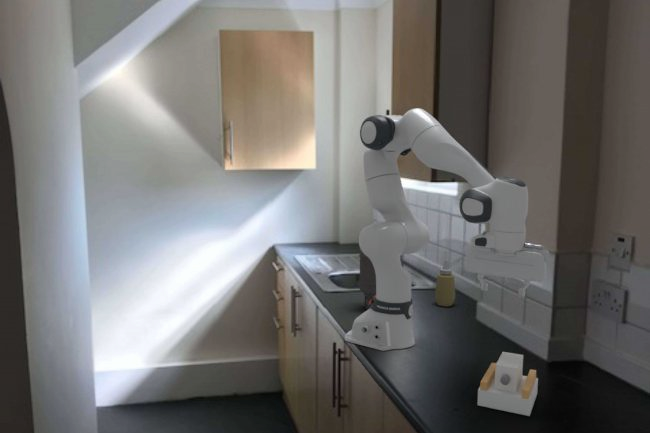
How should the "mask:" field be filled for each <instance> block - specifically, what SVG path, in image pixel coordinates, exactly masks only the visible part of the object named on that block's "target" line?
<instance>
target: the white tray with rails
mask: <svg viewBox="0 0 650 433" xmlns="http://www.w3.org/2000/svg"><path fill="white" fill-rule="evenodd" d="M496 363H497V362H491V363H490V365H489V366H488V369H487V370H486V372H485V373H484V375H483V377H482V378H481V380H480V385H479V387H478V389H477V406H480V407H485V408H489V409H492V410H493V409H494V410H498V411H504V412H508V413H511V414H512V413H514V414H516V415H517V414H518V415H522V416H527V417H531V414H532V410H533V407H534V405H535V401H536V399H537V395H538V386H539V384H538V383H539V378H538V377H537V370H536V369H531V368H530V369H529V371H528V374H527V375H523V374H522V379H521V382H520V384H519V387H518V389H517V392H516V393H515V392H510V391H505V390H499V389H495V369H496Z"/></svg>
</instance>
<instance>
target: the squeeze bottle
mask: <svg viewBox="0 0 650 433" xmlns="http://www.w3.org/2000/svg"><path fill="white" fill-rule="evenodd" d="M434 289H435V291H434V298H435V301H436V305H437V306H440V307H452V306H453V305H454V304H453V303H454V301H455V299H456V286H455V275H453V269H451V268H450V265H449V260H448V259H445V260H444V262H443V266H442V268H440V269H439V273H438V274H437V276H436V282H435V288H434Z"/></svg>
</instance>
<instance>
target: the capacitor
mask: <svg viewBox="0 0 650 433" xmlns="http://www.w3.org/2000/svg"><path fill="white" fill-rule="evenodd" d="M358 257H359V279H358V283H359V286H358V288H359V290H360V291H361V293H363V295H364V307H363V308H364V309H365V310H366V311H367V310H368V309H370V308H371V304H370V305H369V303H370V302H369V301H370V300H371V299H372V298H373V297H374V296H375V295H376V274H375V269H374V266H373V264H372V262H371V260H370V259H369V258H368V257H367V256H366V255H365V254H364V253H363V252H362V250H361V249H360V250H359V256H358Z"/></svg>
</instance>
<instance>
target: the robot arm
mask: <svg viewBox="0 0 650 433" xmlns="http://www.w3.org/2000/svg"><path fill="white" fill-rule="evenodd" d="M359 137H360V140H361V143H362V144H363V146H364V147H366V148H367V149H365V151H364V152H363V174H364V180H365V185H366V186H365V187H366V190H367V196H368V201H369V204H370V206H371V207H372V209H373V210H375V211H376V212H378V213H379V214H380V215H381V216H382V217H383V220H384V221H379V222H375V223H371V224H369V225H366V226H364V227H363V228H362V229H361V231H360V232H359V235H358V236H359V237H358V245H359V249H360V250H362V252H363V253H364V254H365V255H366V256H367V257H368V258H369V259H370V260H371V262H372V264H373V266H374V269H375V274H376V295H375V296H374V297H373V298H372V299H371V300H370V301H369V302H370V303H369V305H370V304H371V308H370V309H368V310H367V309H366V311H365V310H364V312H363V313H361V314H360V315H358V316H357V317H356V318H355V319H354V321H353V323H352V327H351V330H349V331H348V332H346V333H345V334H344V335H345V336H344V341H346V342H347V343H352V344H356V345H360V346H364V347H367V348H370V349H374V350H379V351H384V352H385V351H391V350H400V349H401V350H402V349H407V348H411V347H413V346H414V345H415V344H416V340H415V336H414V331H413V325H412V324H413V323H412V317H413V309H414V308H413V307H414V305H413V299H412V283H413V282H412V281H413V280H412V274H411V272H410V271H408V270H407V269H406V268H404V267H403V265H402V261H401V256H403V255H404V256H405V255H410V254H415V253H418V252H420V251H422V250H423V249H425V248H426V247H427V246H428V245H429V242H430V238H431V237H430V235H431V234H430V229H429V228H428V226H427V225H426V224H425V223H424V222H423V221H421V219H419V218H418V217H417V216H416V214H415V213H414V212H413V210H412V209H411V207H410V205H409V202H408V200H407V198H406V195H405V192H404V188H403V183H402V180H401V175H400V170H399V167H398V157H399V156H403V157H404V156H407V155H409V153H410V152H412V153H413V154H414V155H415V157H416V158H417V159H418V160H419V161H420V162H421V163H423V164H424V165H425V166H426V167H428V168H430V169H434V170H440V171H443V172H444V171H445V172H449V173H453V174H455V175H457V176H460V177H462V178H463V179H464V180H465V181H466V182H468V184H469V185H470V186H472V188H470V189H467V190H465V191H464V192H463V193H462V195H461V197H460V198H459V203H458V207H459V211H460V215H461V216H462V219H464V220H465V221H466V222H468V223H471V224H474V225H475V224H476V225H477V224H478V225H481V224H489V232H484V233H479V234H476V235H474V236H472V237H471V239H470V245H471V246H469V247H468V249H467V250H466V254H465V259H464V267H463V268H464V270H465V271H466V272H467V273H474V274H477V279H478V281H479V284H480V291H484V292H487V291H488V290H489V287H488V286H489V283H488V282H485V280H484V277H486V276H487V275H488V276H492V277H499V278H500V277H501V278H509V279H515V280H521V281H522V280H523V285H524V286H523V287H521V288H518V294H517V296H518V297H523V298H525V297H526V290H527V289H528V287H529V286H530V285H531V283H532V282H534V283H535V282H536V283H542V282H544V281H545V280H546V278H547V263H548V262H549V259H550V251H549V249H548V248H547V247H546V246H544V245H543V244H534V243H527V242H526V234H527V228H526V218H528V213H529V190H528V186H527V184H526V183H525V181H523V180H522V179H518V178H516V177H510V176H498V177H497V178H496V177H495V175H494V174H493V173H492V172H491V171H490V170H489V169H488V168H486V166H484V164H482V163H481V161H480V160H478V159H477V158H476V157H475V156H474V155H473V154H472V153H470V152H469V151H468V150H467V149H465V147H463V146H462V145H461V144H460V143H459V142H458V141H456V139H455V138H454V137H452V136H451V134H450V133H449V132H448V130H446V129H445V127H443V125H442V124H441V123H440V122H439V121H438V120H437V119H436V118H435V117H434V116H433V115H431V114H430V113H429V112H427V111H426V110H424V109H423V108H421V107H419V108H418V107H417V108H412V109H409V110H408V111H406V112H405V113H404V114H403V115H400V114H398V115H397V114H387V115H383V114H382V115H381V114H376V115H370V116H368V117H366V118H365V119H364V120H363V121H362V123H361V125H360V129H359ZM485 275H486V276H485Z"/></svg>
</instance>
